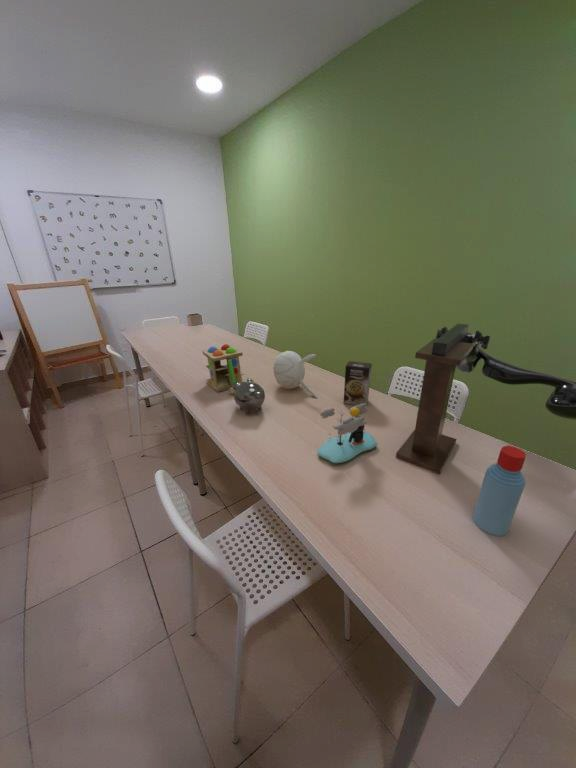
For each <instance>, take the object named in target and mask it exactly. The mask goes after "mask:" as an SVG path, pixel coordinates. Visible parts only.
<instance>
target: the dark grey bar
mask: <svg viewBox="0 0 576 768" xmlns="http://www.w3.org/2000/svg"><path fill="white" fill-rule="evenodd" d="M468 330H469V324H465V323H456V324H454V326H452V327H451V328H450V329H448V331H447V332H446V333H445V334H443V335H442V336H441V337H440V338H438V339H437V340H436V341H434V343H433V349H432V354H436V355H443V356H445V355H446V354H447V353H448V352H449V351H450V350H451V349H452V348H453V347H454V346H455V345H457V344H458V343H459V342H460V341H461V340H462V339H463V338H464V337H465V336H466V335H467V333H468Z"/></svg>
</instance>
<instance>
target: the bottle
mask: <svg viewBox="0 0 576 768" xmlns="http://www.w3.org/2000/svg"><path fill="white" fill-rule="evenodd" d="M525 486H526V477H525V476H524V474H523V472H522V470H520V471H518V472H512V471H508V470H505V469H503V468H502V467H500V466H499V465H498V463H497V462H496V463H493V464H490V465H489V466H488V467H487V468H486V470H485V473H484V476H483V481H482V483H481V487H480V491H479V493H478V497H477V501H476V504H475V507H474V511H473V514H472V521H473V522H474V525H476V527H478V528H479V529H480V530H481V531H483V532H484V533H487V534H490V535H492V536H496V537H503V536H505V535H507V534H508V532H509V530H510V527H511V523H512V521H513V519H514V516H515V514H516V511H517V508H518V506H519V502H520V500H521V498H522V495H523V491H524V489H525Z"/></svg>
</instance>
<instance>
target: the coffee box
mask: <svg viewBox="0 0 576 768" xmlns="http://www.w3.org/2000/svg"><path fill="white" fill-rule="evenodd" d="M372 367H373V364H372V363H371V362H362V361H352V360H349V361H347V363H346V365H345V370H344V371H345V372H344V387H343V404H346V405H352V406H356V405H360V404H363V403H365V404H366V405H367V404H368V402H369V395H370V386H371V385H370V384H371V374H372ZM367 406H368V405H367Z"/></svg>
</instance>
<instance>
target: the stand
mask: <svg viewBox="0 0 576 768" xmlns="http://www.w3.org/2000/svg"><path fill="white" fill-rule="evenodd" d="M436 340H437V339H436V338H432V340H430V341H429V342H428V343H426V344H425V345H424V346H422V347H421V348H419V350H417V351H416V352H415V356H414V358H415V359H419V360H425V366H424V372H423V378H422V383H421V390H420V397H419V403H418V408H417V413H416V414H417V415H416V421H415V427H414V430H413V431H412V432H411V434H410V435H409V436H408V438H406V440H405V441H404V442H403V444H401V447H400V448H398V450H397V451H396V453H395V458H397V459H399V460H402V461H404V462H407V463H410V464H411V465H415V466H417V467H420V468H423V469H425V470H427V471H430V472H433V473H436V474H438V475H440V474H441V472H442V471H443V469H444V467H445V464H446V462H447V461H448V459H449V457H450V455H451V454H452V452H453V449H454V447H455V446H456V443H457V438H454V437H451V436H448V435H444V434H443V431H444V425H445V421H446V417H447V413H448V412H447V411H448V407H449V406H448V405H449V403H450V402H449V401H450V398H451V397H450V396H451V393H452V392H451V391H452V389H453V383H454V378H455V373H456V369H457V368H456V365H457V366H459V365H460V364H461V362H462V361H463V360H464V359H465V358H466V356H467V355H468V354H469V353H470V352H471V350H472V349H473V346H474V344H472V343H465V342H459V343H458V344H457V345H455V346H454V347H453V348H452V349H451V350H450V351H449V352H448V353H447V354H446V355H445V356H443V355H436V354H432V349H433V343H434V341H436Z"/></svg>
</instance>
